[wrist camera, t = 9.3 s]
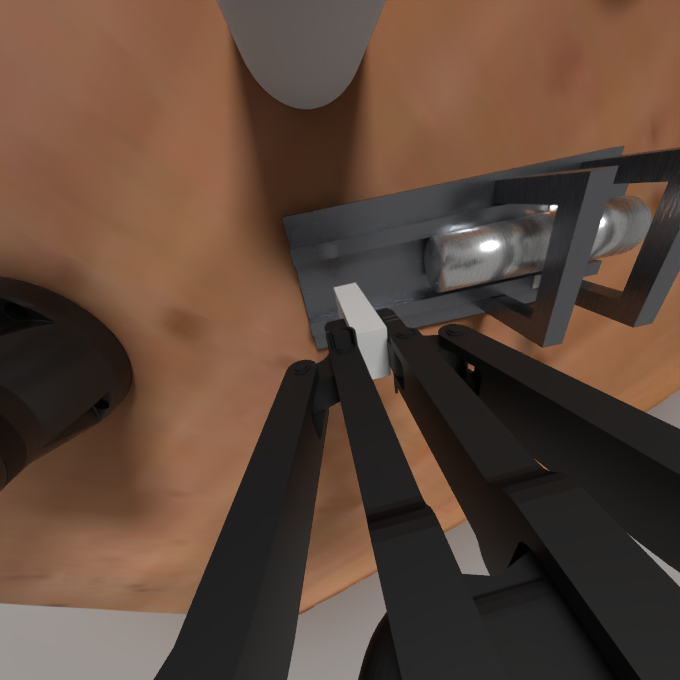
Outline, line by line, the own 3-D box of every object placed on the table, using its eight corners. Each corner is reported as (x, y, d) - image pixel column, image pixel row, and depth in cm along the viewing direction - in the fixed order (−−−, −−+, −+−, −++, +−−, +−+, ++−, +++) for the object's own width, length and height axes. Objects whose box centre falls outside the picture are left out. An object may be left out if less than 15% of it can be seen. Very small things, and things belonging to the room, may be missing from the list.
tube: (427, 290, 23) (451, 294, 18) (421, 239, 21) (446, 231, 17) (586, 256, 23) (647, 252, 19) (589, 204, 22) (655, 187, 17)
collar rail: (316, 344, 26) (322, 402, 18) (283, 217, 20) (270, 227, 12) (569, 288, 26) (671, 324, 19) (610, 147, 20) (785, 119, 13)
